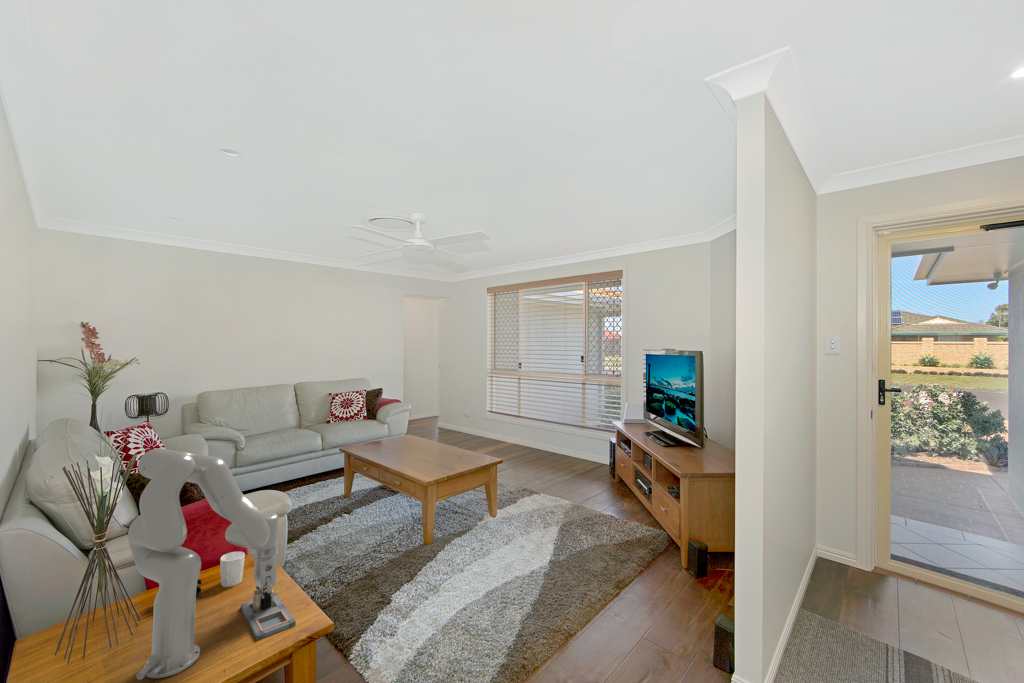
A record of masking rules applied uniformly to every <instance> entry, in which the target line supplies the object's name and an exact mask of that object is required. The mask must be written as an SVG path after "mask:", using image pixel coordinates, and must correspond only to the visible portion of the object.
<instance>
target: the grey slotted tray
mask: <svg viewBox="0 0 1024 683" xmlns="http://www.w3.org/2000/svg"><path fill="white" fill-rule="evenodd" d="M240 609H241V612H242V613H243V615H244V617H245V620H246V622H247V623H248V625H249V628H250V629H251V631H252V633H253V636H254V637H255V639H256V641H258V640H261V639H263V638H267V637H269V636H272V635H274V634H277V633H279V632H282V631H284V630H288V629H290V628H292V627H295V626H296V624H297V623H296V620H295V618H294V617H293V615H292V614H291V612H290V611H289V609H288V608H287V606H286V605H285V603H284V602H283V601H282V599H281V598H280V596H279V595H278V594H277V592H274V598H273V608H270V609H267V610H265V611H262V612H259V613H255V612H254V610H253V600H251V601H248V602H245V603H241V604H240Z"/></svg>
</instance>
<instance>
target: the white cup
mask: <svg viewBox="0 0 1024 683" xmlns="http://www.w3.org/2000/svg"><path fill="white" fill-rule="evenodd" d="M245 557H246V553H245V552H243V551H231V552H227V553H226V554H223V555H221V557H220V558H219V559H220V560H219V561H220V566H219V567H220V586H221V587H222V588H231V587H234V586H237V585H239V584H240V583H241V582H243V575H244V570H245V569H244V567H245Z"/></svg>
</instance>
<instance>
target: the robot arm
mask: <svg viewBox="0 0 1024 683" xmlns="http://www.w3.org/2000/svg"><path fill="white" fill-rule="evenodd" d="M137 470H138V472H139V473H140V475H141V476H143V477H144V478H147V479H150V480H149V482H148V484H147V485H146V486H145V488H144V490H143V491H142V493H141V495H140V499H139V502H138V506H139V513H140V515H138V516H137V517H136V518H134V520H133V521H132V522H131V524H130V525H129V529H128V533H127V540H128V545H129V548H130V552H131V554H132V557H133V560H134V564H135V567H136V569H137V571H138V573H139V574H140V575H141V576H143V577H144V578H146V579H148V580H150V581H154V582H155V583H158V585H159V586H158V587H159V588H158V591H157V593H156V595H155V598H154V602H153V607H152V608H153V611H152V613H153V617H152V637H151V656H149V657H148V660H147V661H146V662H145V664H144V666H143V668H142V669H141V670H140V671H139V672H138V673H136V675H135V676H136V677H135V678H136V679H137V680H138V681H140V680H143V679H144V678H146V677H147V678H149V679H163V678H168V677H171V676H173V675H176V674H179V673H181V672H184V671H185V670H186V669H188V668H189V667H191V666H192V665H194V663H196V661H197V660H198V659H199V657H200V655H201V648H200V646H199V645H197V644H195V629H196V628H195V626H196V625H195V624H196V605H197V604H196V602H197V600H196V599H197V598H196V588H197V586H198V583H197V581H198V579H199V576H200V572H201V569H202V561H201V557H200V556H199V554H198V553H197V552H195V551H194V550H192V549H190V548H187V547H183V546H182V545H183V544H184V542H185V540H186V539H187V536H188V535H187V534H188V528H187V524H186V520H185V517H184V514H183V511H182V506H181V502H180V493H181V490H182V488H183V486H184V485H185V483H186V482H187V483H193V484H196V485H198V486H199V488H200V490H201V492H202V493H203V495H204V497H205V498H206V501H207V502H208V504H209V506H210V508H211V509H212V511H213V512H215V513H217V515H218V516H220V517H222V518H224V519H226V520H227V521H229V522H231V524H230V525H229V526H228V527H227V528H226V530H225V533H224V537H225V538H224V539H225V540H226V541H227V542H228V543H229V544H231V545H234V546H238V547H242V548H244V549H245V548H246V549H249V550H252V554H251V555H252V556H251V557H252V560H254V566H253V567H254V568H253V569H254V570H253V578H254V582H255V589H256V590H258V589H261V592H262V598H261V601H260V610H264V609H267V608H270V607H271V597H272V590H273V587H276V586H277V560H276V558H277V557H276V556H277V555H278V545H279V544H278V542H279V523H280V522H279V520H280V518H279V515H278V514H277V513H275V512H265V513H262V512H261V510H259V509H258V508H257V507H256V505H255V504H254V503H252V501H250V499H249V498H248V497H247V496H246V495H245V494H243V492H242V490H241V489H240V488H239V485H238V484H237V481H236V479H235V478H234V475H233V474H232V471H231V470H230V467H229V466H228V464H227V462H226V461H225V460H223V459H222V458H220V457H217V456H212V455H206V454H199V453H190V452H183V451H178V450H172V449H167V448H154V449H151V450H148V451H146V452H145V453H144V454H143V455H141V457H140V458H139V461H138V463H137ZM272 586H273V587H272ZM264 587H265V588H264ZM266 589H267V591H266V592H265V593H264V590H266Z"/></svg>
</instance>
